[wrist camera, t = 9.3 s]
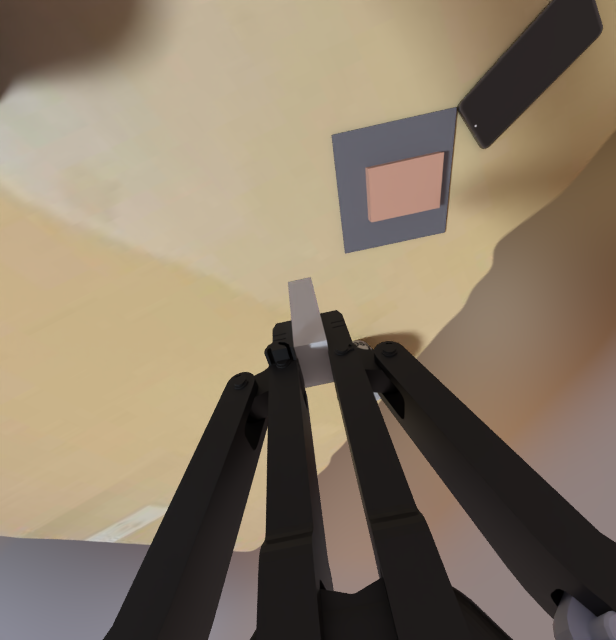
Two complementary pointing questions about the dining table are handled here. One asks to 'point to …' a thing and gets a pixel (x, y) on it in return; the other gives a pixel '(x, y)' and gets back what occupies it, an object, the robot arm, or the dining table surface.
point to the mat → (386, 147)
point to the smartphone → (529, 67)
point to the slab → (404, 186)
